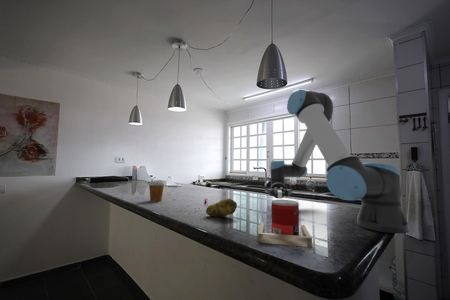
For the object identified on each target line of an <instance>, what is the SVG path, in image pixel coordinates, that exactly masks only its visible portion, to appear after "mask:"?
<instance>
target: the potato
mask: <svg viewBox="0 0 450 300" xmlns="http://www.w3.org/2000/svg"><path fill="white" fill-rule="evenodd" d="M237 207H238V204H237V202H236V201H235V200H233V199H231V198H224V199H221V200H220V201H218V202H216V203H213V204H211V205H208V206H207V207H206V208H205V209H206V210H205V211H206V212H205V213H206V215H208V216H209V217H215V218H222V217H223V218H225V217H226V216H230V215H233V214H234V213H235V212H236V210H237Z"/></svg>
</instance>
